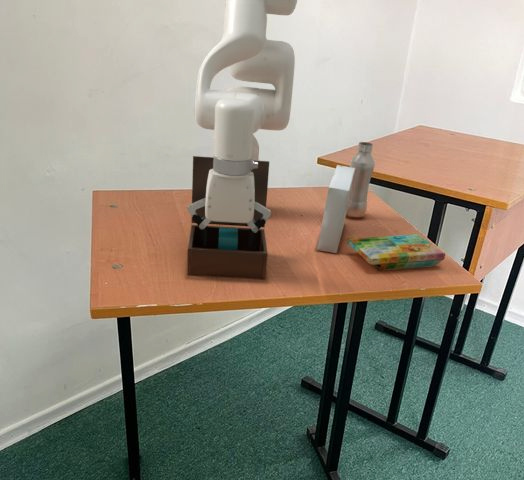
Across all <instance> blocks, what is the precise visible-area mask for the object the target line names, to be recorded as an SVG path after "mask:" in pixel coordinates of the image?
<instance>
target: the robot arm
mask: <svg viewBox="0 0 524 480" xmlns="http://www.w3.org/2000/svg"><path fill="white" fill-rule="evenodd" d="M297 3H298V0H225V4H224V18H223V26H222V27H223V28H222V38H221V40H220V41H219V42H218V43H217V44H216V45H215V46H214V47H212V49H211V50H210V51H209V52H208V53H207V55H206V56H205V57H204V59H203V60H202V63H201V64H200V67H199V69H198V73H197V76H196V85H195V95H194V105H193V106H194V107H193V109H194V118H195V122H196V123H197V125H198V126H199V127H200V128H201V129H205V130H209V131H210V130H211V131H213V134H214V135H213V156H212V157H213V169H210V171H209V174H208V180H207V187H206V198H203V199H201V200H199V201H197V202H194V203H192V202H191V203H190V204H188V205H187V211H188V213H189V215H190V217H191V220H192V219H193V221H194V222H195V223H194V224H195V225H198V226H199V228H200V229H201V236H200V242H204V243H203V247H207V232H208V226H209V225H210V224H209V223H210V222H211V221H214V222H228V223H247V224H248V226H247V227H248V228H250V229H249V239H248V249H249V250H252V245H255V241H256V232H257V231H258V230H259V229H262V228H263V227H262V226H264V225H265V226H266V223H267V221H268V220H269V218H270V217H271V215H272V210H271V209H269V208H267V206H266V207H264V206H262V205H261V204H259V203H257V202H256V201H255V182H254V174H253V172H251V170H252V169H254V168H255V169H258V162H255V161H253V160H258V161H259V159H260V157H259V156H260V144H259V141H258V139H257V138H256V136H255V133H257V132H258V131H259V130H263V131H264V130H265V131H283V130H286V129H287V127H288V125H289V122H290V119H291V118H290V117H291V110H292V98H293V88H294V79H295V66H296V65H295V63H296V60H295V59H296V58H295V51H294V47H293V46H292V45H291V43H289V42H286V41H283V40H274V39H273V40H272V39H267V25H268V24H267V23H268V15H276V16H290V15H292V14H293V13H294V11H295V9H296V7H297V5H298V4H297ZM228 67H229V73H230V75H231V77H232V78H234V79H235V80H237V81H241V82H248V83H258V84H269V85H272V86H273V87H274V89H269V88H259V87H253V86H252V87H251V86H232V87H229V88H228V89H226V90H220V89H219V90H218V89H211V84H212V82H213V80H214V78H215V76H216V75H217V74H219V73H220V72H222V71H223V70H224V69H226V68H228ZM204 206H205V216H204V217H203V218H201V217H200V216H199V215H198V214H197V212H196V210H197V209H199V208H201V207H204ZM254 209H255V210H257V211H258V212H260V213H262V214H263V215H262V217H261V218H260V219H259V220H257V221H256V222H255V220H254V219H253V217H254Z"/></svg>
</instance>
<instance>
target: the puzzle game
mask: <svg viewBox="0 0 524 480" xmlns="http://www.w3.org/2000/svg"><path fill="white" fill-rule="evenodd" d="M346 243H347V245H349V246H350V248H352V249H353V250H354V251H355V252H356V253H357V254H358V255H360V257H361V258H363V259H364V260H365V261H366V262H367V263H368V264H369V265H371V266H375V267H376V268H377V269H378V270H379V271H392V270H405V269H407V270H408V269H417V268H418V269H420V268H431V267H433V268H434V267H436V266H437V265H439V264H440V263H442V262H443V261H444V260H445V258H446V255H447V254H446V253H445V252H443V251H442V250H441V249H439V248H438V247H437V246H435V245H434V244H433V243H431V242H429V241H428V240H427V239H425V238H424V237H423V236H421V235H420V234H417V233H415V234H401V235H400V234H399V235H397V234H396V235H385V236H371V237H357V238H347V242H346Z"/></svg>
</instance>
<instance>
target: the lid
mask: <svg viewBox="0 0 524 480" xmlns="http://www.w3.org/2000/svg"><path fill="white" fill-rule="evenodd" d="M213 157H214V156H200V155H199V156H198V155H193V156H192V179H191V181H192V185H191V204H192V203H194V202H197V201H199V200H201V199H203V198H206V187H207V180H208V174H209V171H210V169H213ZM253 161H255V162H258V169H255V168H254V169H252V170H251V172H253V174H254V182H255V201H256V202H257V203H259V204H261V205H262V206H264V207H266V208H267V202H268V201H267V199H268V188H269V187H268V186H269V175H270V161H269V160H259V159H258V160H253ZM196 212H197V214H198V215H199V216H200V217H201V218H203V217H204V216H205V206H204V207H201V208H199V209H197V210H196ZM262 215H263V214H262V213H260V212H258V211H257V210H255V209H254V217H253V219H254V220H255V222H256V221H257V220H259V219H260V218H261V217H262ZM190 223H191V224H196V223H195V222H194V221H193V219H192V218H191V221H190ZM208 225H215V226H231V227H249V226H248V224H247V223H228V222H214V221H211V222H210V223H209V224H208ZM261 228H266V224H265V225H264V226H262V227H261Z"/></svg>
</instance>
